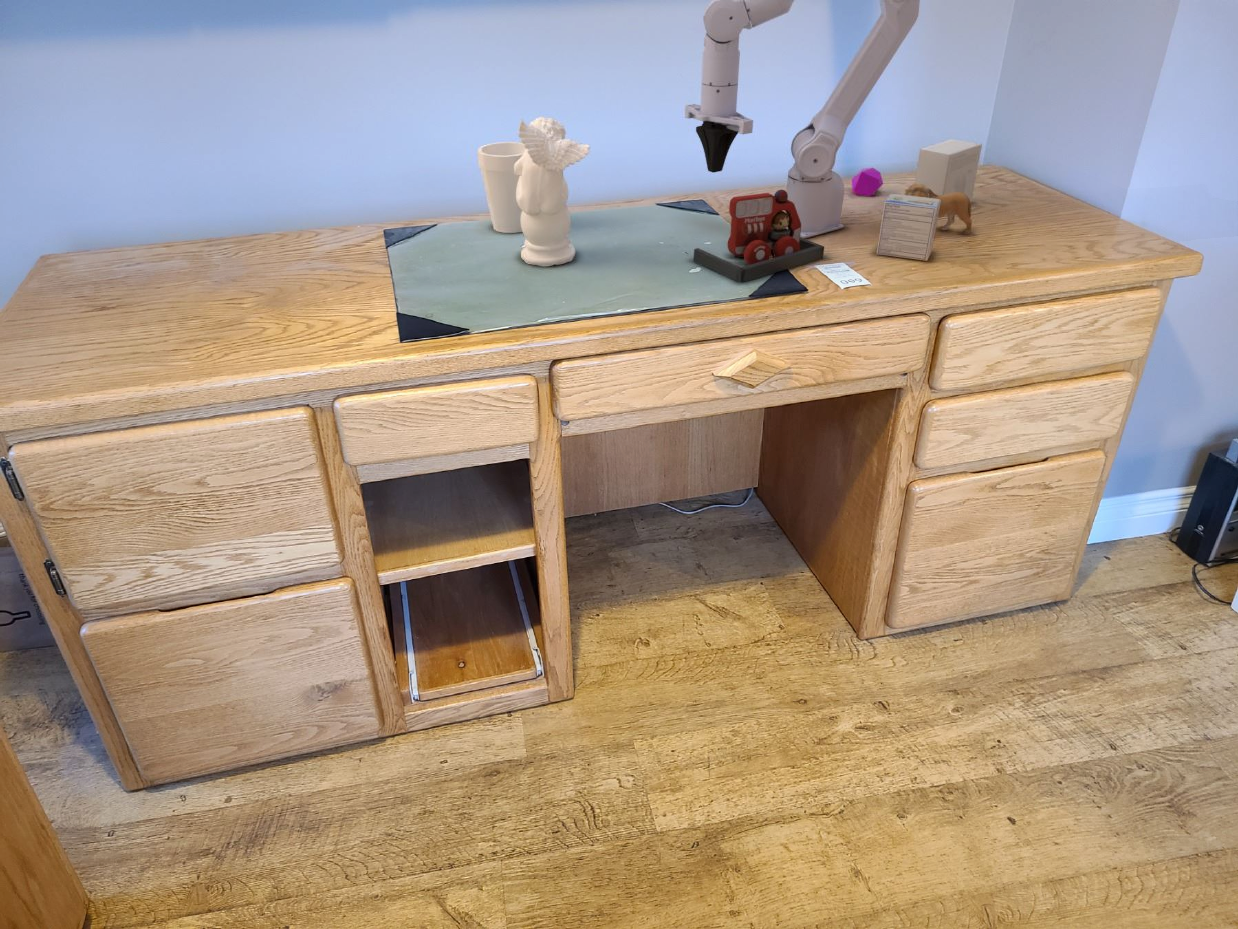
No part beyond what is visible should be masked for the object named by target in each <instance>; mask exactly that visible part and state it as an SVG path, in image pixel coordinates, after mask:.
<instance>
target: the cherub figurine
mask: <svg viewBox="0 0 1238 929" xmlns="http://www.w3.org/2000/svg"><path fill="white" fill-rule="evenodd" d="M566 134H567V132H566V128H565V126H564V124H563V125H562V123H560V122H559V121H558V120H557V119H554V118H553V117H550V116H549V117H544V116H539V117H536V118H535V119H534V120H532V121H530V123H529V124H527V123H525V122H524V120H523V118H521V119H520V121H519V124H518V133H517V136H518V138H519V139H520V143H523V144H524V147H525V148H527V150H526V151H525V152H524V154H523V155H522V157H521V158H520V159H519V160H518V161H517V162H516V163H515V165H514V174H515V175H519V179H518V183H517V188H516V200H517V203H518V205H519V207H520V209H521V210H522V213H521V219H520V220H521V228H522V234H523V235H524V237H525V239H524V246H525V247H523V248H522V249H521V252H520V257H521V259H522V260H523V261H524V262H525V263H526V264H528V265H533V266H539V267H552V266H554V265H555V266H559V265H562V264H563V265H564V264H566V263H568V262H572V261H573V260H574V258H575V255H576V249H575V247H574V246H573V245H572V244H570V243H571V238H570V237H569V234H570V231H571V226H572V217H571V213H570V211H569V208H568V206H567V201H568V200H569V186H568V183H567V181H566V178H565V176H564V171H565V170H566V168H569V167H570V165H571V166H574V165H575V164H576V163H580V161H581V160H583V159H585V158H586V156H587V155H589V154H590V148H591V145H589V144H583V143H582V142H577V141H576V140H573V139H570V138H566Z"/></svg>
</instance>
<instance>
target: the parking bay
mask: <svg viewBox="0 0 1238 929" xmlns="http://www.w3.org/2000/svg"><path fill="white" fill-rule="evenodd" d="M799 246H800V250H799V251H796V252H793V253H789V254H786V255H782V256H779V257H773V258H769V259H768V260H765V261H761V262H758V263H754V264H751V265H748V264H746V265H744V266H739V265H737V264H735V263H732V262H730V261H728V260H726V259H724V258H722V257H720V256H716V255H715V254H712V253H710V252H707V251H705V250H704V249H702V248H699V247H698V248H694V249H693V262H694V263H696V264H699V265H701V266H703V267H705V268H707V269H710V270H712V271H714V272H715V273H718V274H721V275H722V276H724V277H726V278H728V279H731V280H733V281H735V282H737V283H740V284H742V283H745V282H749V281H752V280H755V279H759V278H763V277H766V276H768V275H773V274H775V273H779V272H782V271H786V270H789V269H793V268H796V267H800V266H803V265H806V264H810V263H813V262H816V261H820V260H823V259H824V255H825V254H824V253H825V246H824V245H822V244H820V243H817V242H814V241H811V240H808V239H807V238H802V237H800V242H799Z"/></svg>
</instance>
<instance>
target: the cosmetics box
mask: <svg viewBox="0 0 1238 929" xmlns="http://www.w3.org/2000/svg"><path fill="white" fill-rule="evenodd" d="M982 148H983V144H982V143H980V142H973V141H967V140H961V139H954V138H950V139H948V140H944V141H941V142H937V143H935V144H931V145H928V146H926V147H922V148H919V153H918V161H917V168H916V174H915V179H914V184H923V185H925V186H926V188H928V189H930V190H931V191H932V192H933V193H934V194H936V195H937V196H941V195H946V194H950V193H953V192H960V193H964V194H965V195H967V196H968V197H969V199H970V202H971V203H972V200H973V196H974V189H975V183H976V178H977V172H978V168H979V162H980V157H981V152H982Z"/></svg>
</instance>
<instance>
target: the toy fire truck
mask: <svg viewBox="0 0 1238 929" xmlns="http://www.w3.org/2000/svg"><path fill="white" fill-rule="evenodd" d="M786 191H787V190H785V189H778V190H776V192H775V193H774V195H773V194H771V193H769V192H763V193H762V192H761V193H757V194H756V193H754V194H748V195H747V194H746V195H738V196H733V197H732V198H731V199H730V201H729V209H728V210H729V211H728V213H729V215H730V217H731V219H730V220H731V221H730V236H729V237H728V240H727V244H726V245H727V249H728V252H729V253H730V254H732V255H733V256H735V257H736V258H737V257H738V258H742V257H743V259H744V262H745V263H746V265H751V264H754V263H758V262H761V261H765V260H768V259H771V253H773V258H775V257H779V256H782V255H786V254H789V253H793V252H796V251H799V250H800V246H799V242H800V233H801V222H800V219H799V216H798V213H797V210H796V208H795V205H794V203H793V202H791V201H790V200H787V199H788V194H787V192H786ZM784 211H786V213H785V212H784ZM786 227H788V229H787V228H786Z"/></svg>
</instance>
